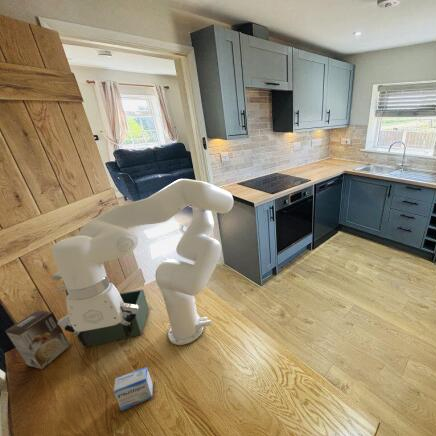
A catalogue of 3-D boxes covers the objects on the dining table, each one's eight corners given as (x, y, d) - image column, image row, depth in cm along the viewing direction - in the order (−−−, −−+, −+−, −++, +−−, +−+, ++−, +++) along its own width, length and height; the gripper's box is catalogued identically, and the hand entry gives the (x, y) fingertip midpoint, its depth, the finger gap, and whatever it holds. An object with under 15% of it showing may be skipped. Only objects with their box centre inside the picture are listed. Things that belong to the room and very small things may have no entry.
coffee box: (56, 342, 86) (39, 308, 80) (71, 345, 85) (54, 311, 79) (26, 366, 78) (3, 330, 72) (41, 370, 77) (20, 334, 71)
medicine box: (121, 411, 67) (112, 392, 63) (122, 396, 70) (114, 377, 67) (152, 398, 70) (146, 379, 67) (153, 384, 74) (146, 365, 70)
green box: (148, 309, 102) (143, 289, 98) (141, 334, 90) (134, 313, 86) (100, 318, 97) (92, 297, 92) (85, 347, 85) (75, 324, 80)
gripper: (33, 303, 51) (61, 358, 58) (125, 289, 56) (142, 341, 63) (53, 282, 58) (77, 333, 64) (134, 271, 63) (148, 319, 69)
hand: (109, 337), depth 64 cm, fingers open, 9 cm apart
